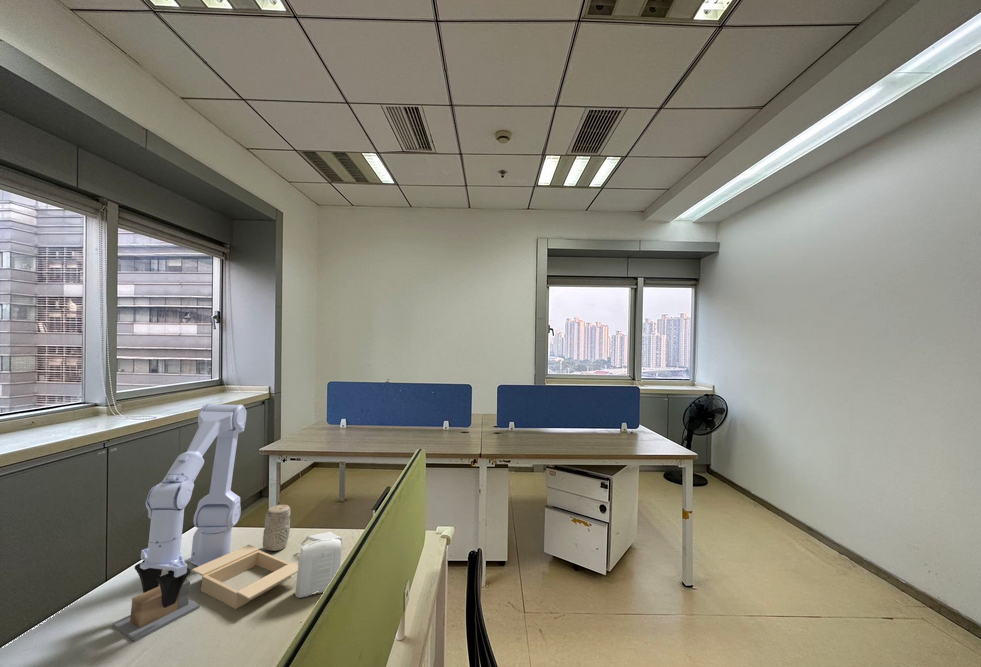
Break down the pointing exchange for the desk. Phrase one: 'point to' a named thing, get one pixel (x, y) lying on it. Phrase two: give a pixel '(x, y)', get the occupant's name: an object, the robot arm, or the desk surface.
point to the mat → (138, 633)
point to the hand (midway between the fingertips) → (159, 599)
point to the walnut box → (156, 605)
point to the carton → (237, 564)
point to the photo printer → (317, 566)
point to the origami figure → (322, 537)
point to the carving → (276, 527)
